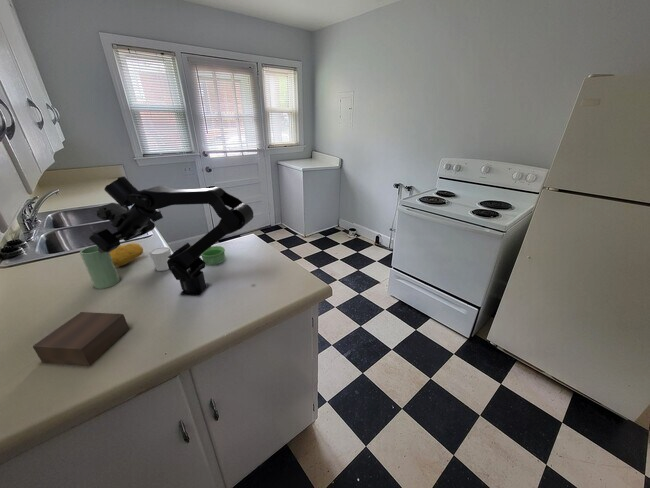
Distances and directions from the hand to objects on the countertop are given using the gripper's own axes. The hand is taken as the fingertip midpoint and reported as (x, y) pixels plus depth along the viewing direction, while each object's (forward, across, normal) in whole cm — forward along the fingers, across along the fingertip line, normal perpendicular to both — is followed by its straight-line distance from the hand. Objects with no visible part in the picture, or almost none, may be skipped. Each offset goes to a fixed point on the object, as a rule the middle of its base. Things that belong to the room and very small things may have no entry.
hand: (112, 245), depth 86 cm
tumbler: (+16, 0, +6) cm, 17 cm away
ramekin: (-7, -20, +24) cm, 32 cm away
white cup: (+6, -13, +14) cm, 20 cm away
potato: (+17, -15, 0) cm, 23 cm away
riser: (0, +26, +19) cm, 32 cm away
